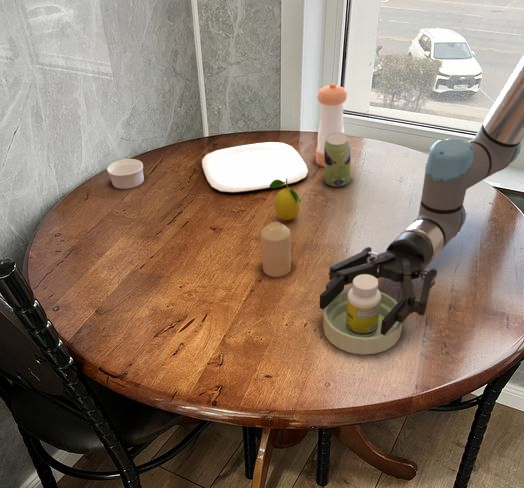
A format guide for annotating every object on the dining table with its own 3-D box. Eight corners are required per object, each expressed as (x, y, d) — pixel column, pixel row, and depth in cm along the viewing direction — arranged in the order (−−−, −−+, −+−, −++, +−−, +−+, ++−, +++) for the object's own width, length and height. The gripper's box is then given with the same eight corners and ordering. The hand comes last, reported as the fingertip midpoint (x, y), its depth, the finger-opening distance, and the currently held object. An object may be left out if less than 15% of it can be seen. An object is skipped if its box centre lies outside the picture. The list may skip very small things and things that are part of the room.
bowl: (412, 321, 94) (415, 303, 91) (381, 367, 86) (383, 349, 83) (344, 298, 99) (345, 280, 96) (309, 340, 91) (309, 322, 89)
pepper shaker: (336, 154, 143) (339, 76, 129) (349, 165, 138) (353, 85, 124) (311, 159, 141) (312, 81, 128) (323, 170, 136) (325, 91, 123)
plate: (213, 202, 127) (213, 195, 126) (197, 158, 145) (197, 151, 144) (316, 185, 131) (316, 178, 130) (288, 144, 149) (288, 137, 148)
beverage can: (350, 177, 133) (353, 128, 124) (348, 192, 128) (351, 142, 119) (324, 177, 134) (326, 128, 125) (321, 191, 129) (323, 141, 120)
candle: (292, 277, 104) (291, 232, 98) (264, 279, 104) (261, 234, 97) (289, 261, 108) (288, 216, 102) (262, 263, 108) (259, 219, 101)
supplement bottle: (345, 316, 94) (348, 270, 88) (376, 317, 94) (382, 271, 87) (345, 337, 90) (348, 291, 84) (378, 338, 90) (384, 292, 83)
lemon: (270, 215, 122) (268, 173, 115) (295, 211, 122) (295, 169, 116) (277, 230, 117) (275, 187, 110) (303, 226, 118) (303, 183, 111)
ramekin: (153, 178, 138) (149, 161, 135) (131, 193, 133) (128, 177, 130) (125, 172, 141) (121, 156, 138) (103, 187, 136) (99, 171, 133)
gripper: (471, 287, 95) (415, 360, 83) (357, 248, 106) (292, 307, 94) (481, 251, 90) (422, 323, 78) (359, 213, 101) (291, 272, 89)
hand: (351, 315), depth 86 cm, fingers open, 11 cm apart
